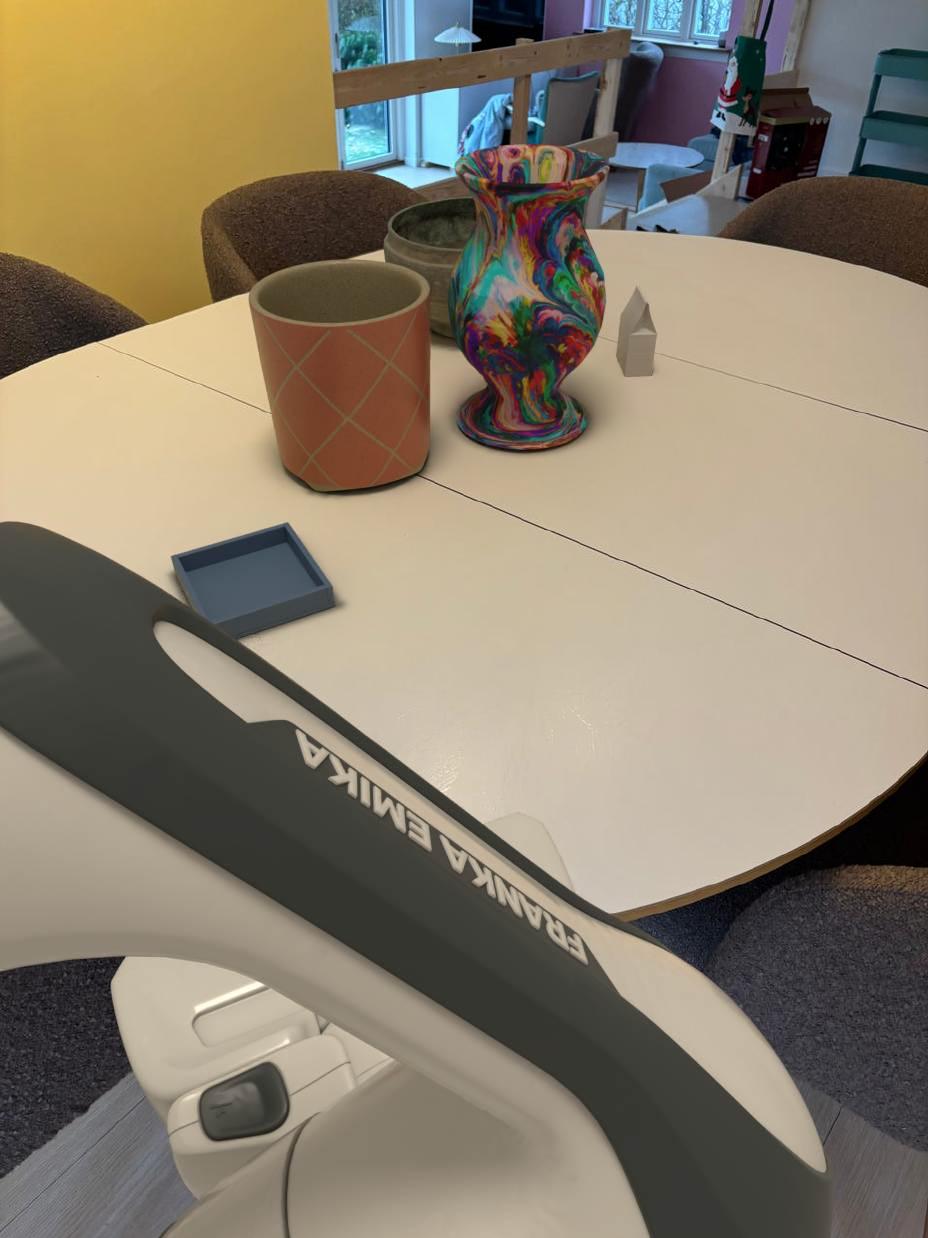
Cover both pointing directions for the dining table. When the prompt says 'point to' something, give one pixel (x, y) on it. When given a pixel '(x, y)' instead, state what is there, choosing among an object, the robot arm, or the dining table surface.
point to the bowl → (432, 247)
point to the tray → (253, 581)
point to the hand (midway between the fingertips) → (311, 821)
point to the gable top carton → (636, 337)
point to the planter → (346, 370)
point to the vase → (527, 291)
